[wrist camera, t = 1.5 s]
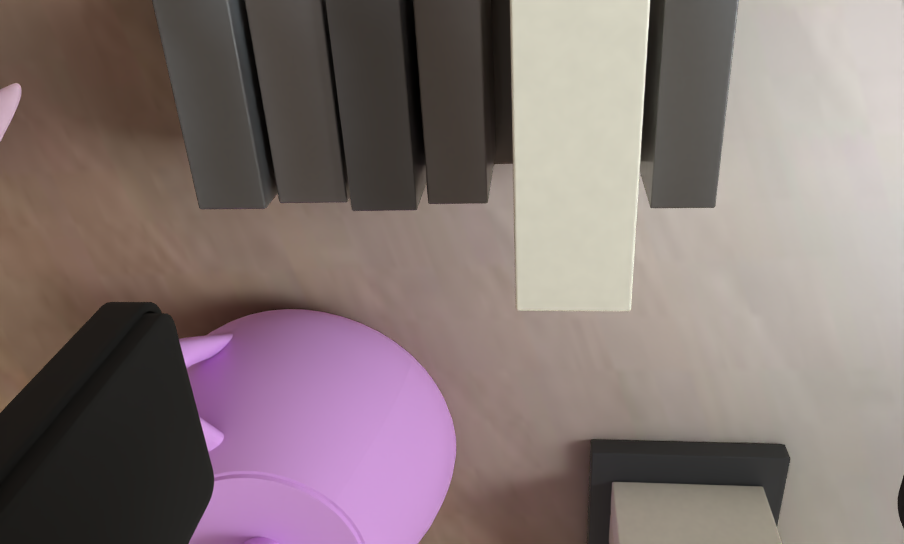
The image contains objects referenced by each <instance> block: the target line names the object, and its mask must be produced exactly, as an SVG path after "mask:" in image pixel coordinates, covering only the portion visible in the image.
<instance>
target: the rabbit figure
mask: <svg viewBox="0 0 904 544" xmlns="http://www.w3.org/2000/svg"><path fill="white" fill-rule="evenodd" d="M20 98H21V86H20V85H19V84H18V83H13V84H11V85H9V86H7V87H4V88H2V89H0V141H1V140H2V138H3V136H4V134H5V132H6V130H7V128H8V126H9V124H10V122H11V120H12V118H13V116H14V113H15V111H16V109H17V107H18V104H19V101H20Z"/></svg>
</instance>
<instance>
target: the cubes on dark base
mask: <svg viewBox="0 0 904 544" xmlns="http://www.w3.org/2000/svg"><path fill="white" fill-rule="evenodd" d="M789 463H790V457H789V454H788V452H787V449H786V447H785V445H782V444H742V443H703V442H664V441H625V440H591V449H590V476H589V502H588V529H587V544H782V541H781V538H780V535H779V532H778V529H777V524H778V519H779V513H780V508H781V503H782V498H783V493H784V488H785V483H786V478H787V473H788V468H789Z"/></svg>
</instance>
